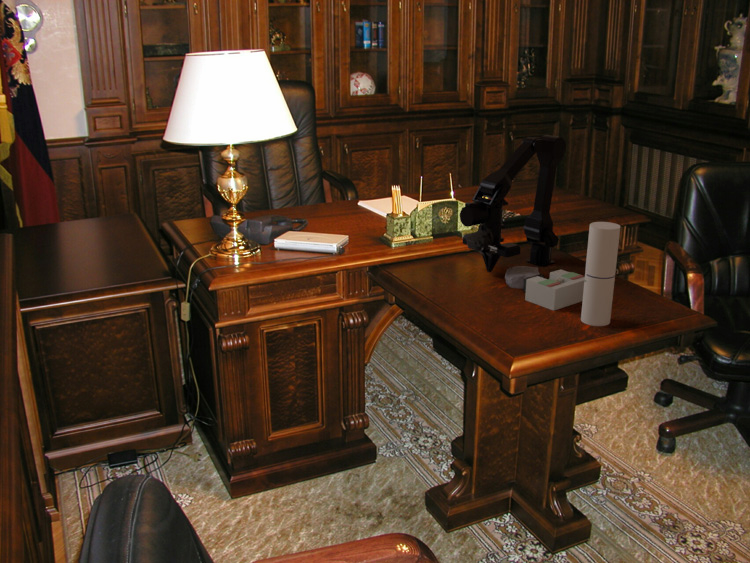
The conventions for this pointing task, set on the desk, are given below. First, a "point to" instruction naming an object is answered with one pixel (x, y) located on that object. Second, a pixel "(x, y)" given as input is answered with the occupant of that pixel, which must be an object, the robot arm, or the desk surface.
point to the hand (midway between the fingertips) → (489, 271)
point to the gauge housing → (555, 290)
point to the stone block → (519, 275)
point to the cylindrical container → (600, 273)
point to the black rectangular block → (542, 277)
